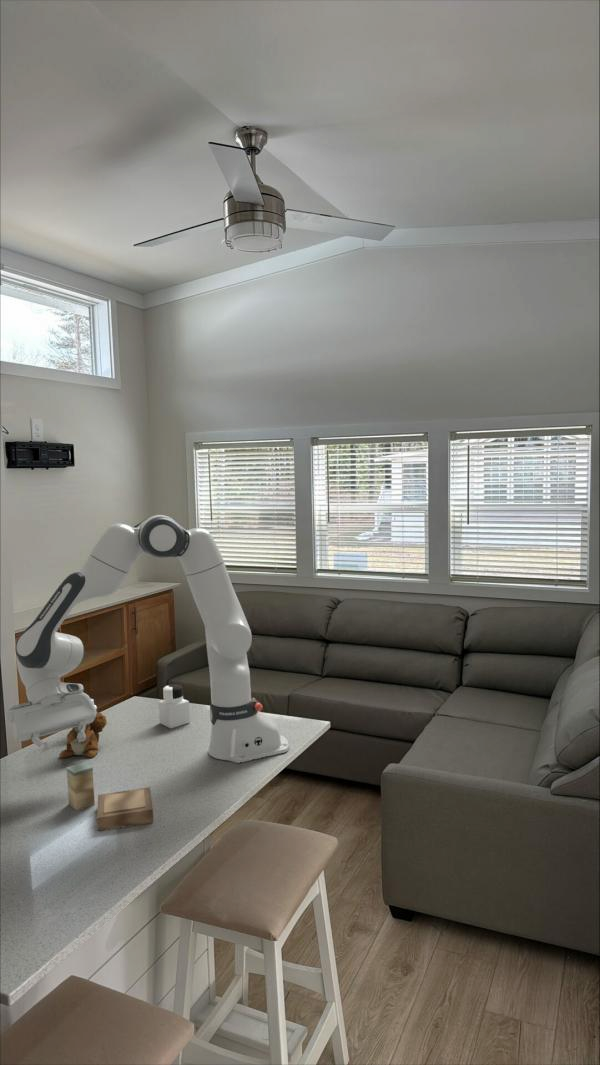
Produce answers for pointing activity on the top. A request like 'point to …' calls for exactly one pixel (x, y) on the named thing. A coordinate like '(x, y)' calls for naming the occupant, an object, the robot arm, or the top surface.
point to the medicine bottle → (174, 707)
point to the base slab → (124, 808)
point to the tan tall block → (80, 786)
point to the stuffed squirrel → (91, 741)
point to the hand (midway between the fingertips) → (64, 745)
